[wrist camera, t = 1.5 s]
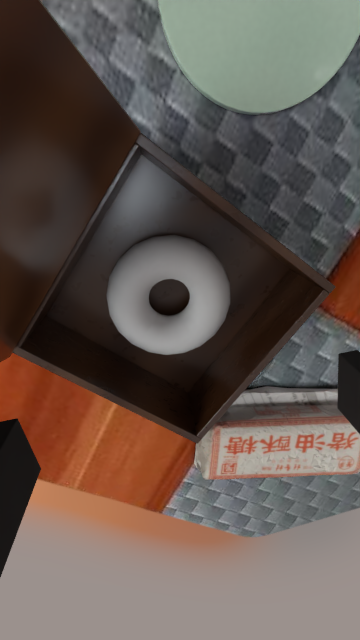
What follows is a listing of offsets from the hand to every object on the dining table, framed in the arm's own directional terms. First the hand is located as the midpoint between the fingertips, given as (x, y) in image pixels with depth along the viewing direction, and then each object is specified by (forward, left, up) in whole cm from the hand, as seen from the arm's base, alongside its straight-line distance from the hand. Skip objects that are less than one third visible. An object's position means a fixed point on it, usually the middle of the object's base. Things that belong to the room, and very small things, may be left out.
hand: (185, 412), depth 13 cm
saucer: (-3, -21, -16) cm, 27 cm away
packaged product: (-15, +13, -17) cm, 26 cm away
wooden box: (0, 0, -16) cm, 16 cm away
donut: (0, 0, -16) cm, 16 cm away
